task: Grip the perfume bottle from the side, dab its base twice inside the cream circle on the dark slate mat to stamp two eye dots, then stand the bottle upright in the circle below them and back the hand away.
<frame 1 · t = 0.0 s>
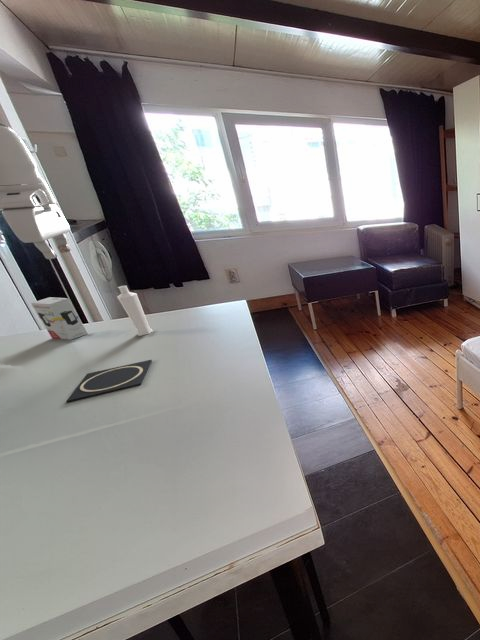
hand: (59, 255, 95), 26 cm above the table, tool pointing down, fingers open, 8 cm apart
perfume bottle: (145, 333, 114), on the table
ink box: (70, 336, 114), on the table
circle mat: (113, 379, 88), on the table
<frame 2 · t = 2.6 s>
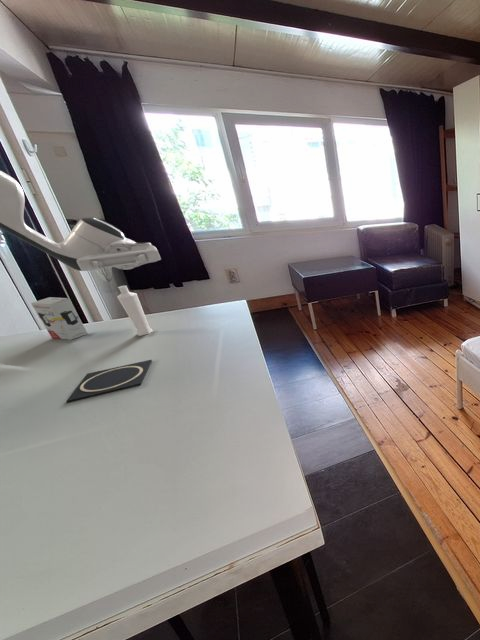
hand: (118, 262, 113), 20 cm above the table, tool horizontal, fingers open, 8 cm apart
nothing on the table moved.
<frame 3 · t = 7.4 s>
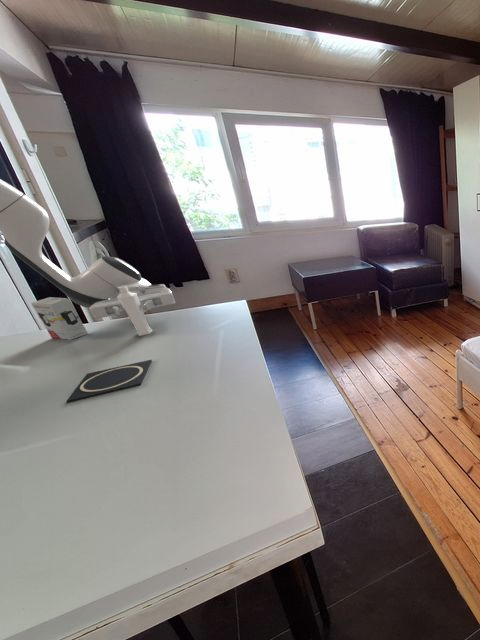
hand: (133, 309, 109), 8 cm above the table, tool horizontal, fingers closed on perfume bottle, 4 cm apart
perfume bottle: (145, 333, 114), on the table, touching gripper
everything else where it was.
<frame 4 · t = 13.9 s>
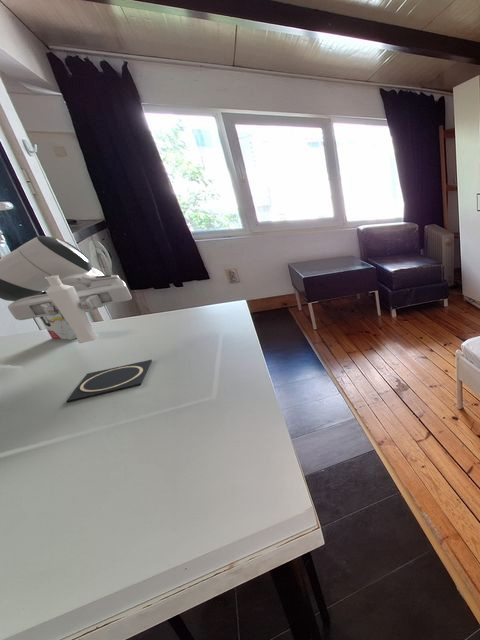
hand: (68, 308, 81), 18 cm above the table, tool horizontal, fingers closed on perfume bottle, 4 cm apart
perfume bottle: (89, 340, 85), point 10 cm above the table, touching gripper
everything else where it was.
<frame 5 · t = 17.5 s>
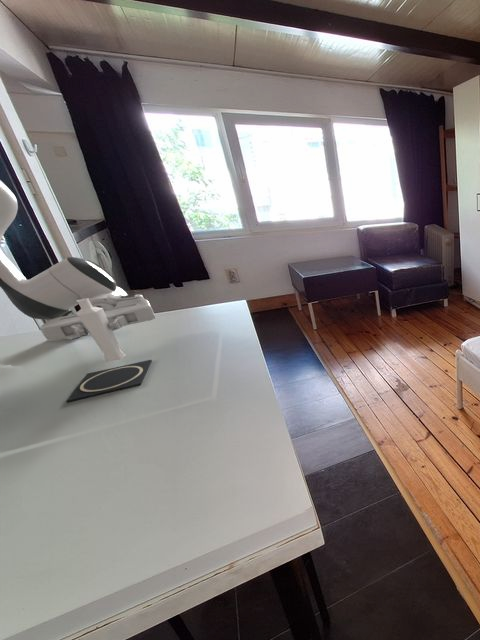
hand: (98, 329, 84), 12 cm above the table, tool horizontal, fingers closed on perfume bottle, 4 cm apart
perfume bottle: (116, 359, 88), point 4 cm above the table, touching gripper
everything else where it was.
when the fingers open (9 cm above the table, at t = 20.5 s): perfume bottle stays where it is, resting on circle mat.
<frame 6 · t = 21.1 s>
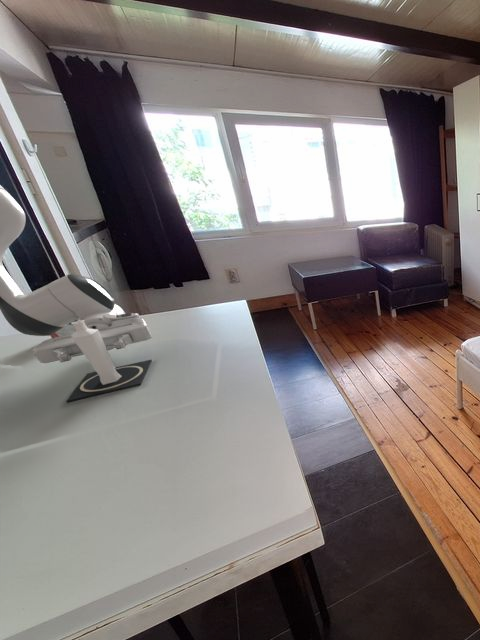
hand: (92, 351, 82), 9 cm above the table, tool horizontal, fingers open, 8 cm apart
perfume bottle: (111, 380, 87), resting on circle mat
everything else where it was.
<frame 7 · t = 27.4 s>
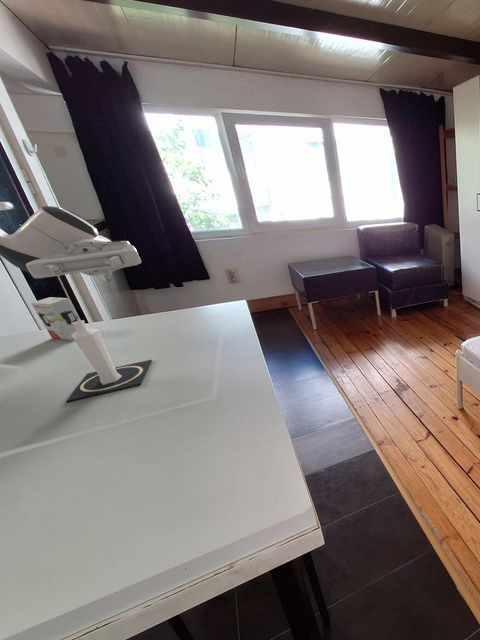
hand: (83, 267, 85), 25 cm above the table, tool horizontal, fingers open, 8 cm apart
nothing on the table moved.
at the end: perfume bottle inside the target area on the circle mat (1.2 cm from its centre), point 0.4 cm above the circle mat's base; perfume bottle tilted 0°; the gripper is holding nothing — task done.
